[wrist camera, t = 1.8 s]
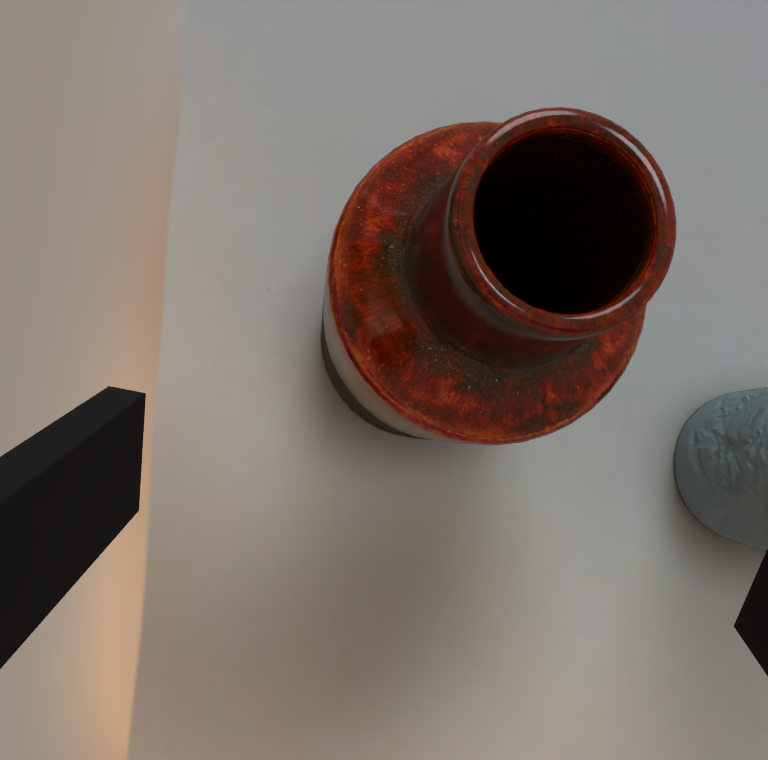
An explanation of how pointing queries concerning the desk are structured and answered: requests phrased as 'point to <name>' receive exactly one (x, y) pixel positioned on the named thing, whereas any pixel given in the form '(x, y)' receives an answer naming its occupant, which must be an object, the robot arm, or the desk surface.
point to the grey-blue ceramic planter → (728, 466)
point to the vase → (495, 276)
